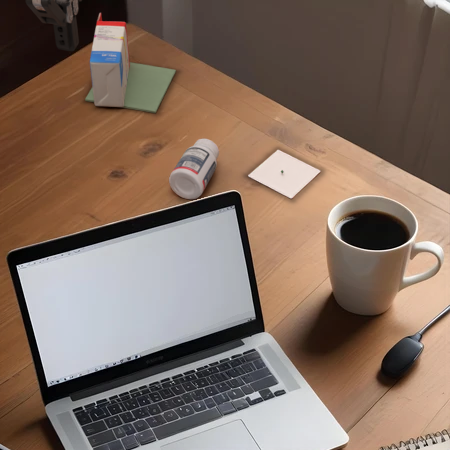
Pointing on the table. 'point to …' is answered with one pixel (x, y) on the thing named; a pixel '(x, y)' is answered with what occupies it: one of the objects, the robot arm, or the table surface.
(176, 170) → the pill bottle
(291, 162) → the coaster
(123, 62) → the ink box
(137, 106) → the felt mat
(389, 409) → the table surface
